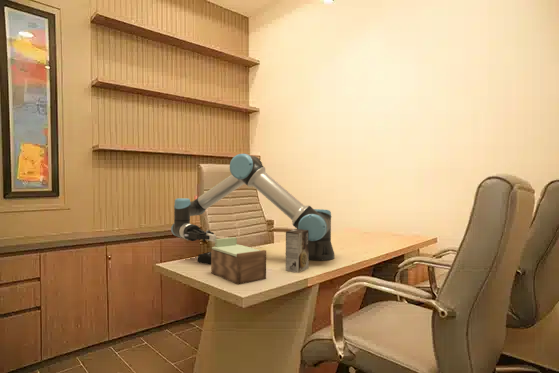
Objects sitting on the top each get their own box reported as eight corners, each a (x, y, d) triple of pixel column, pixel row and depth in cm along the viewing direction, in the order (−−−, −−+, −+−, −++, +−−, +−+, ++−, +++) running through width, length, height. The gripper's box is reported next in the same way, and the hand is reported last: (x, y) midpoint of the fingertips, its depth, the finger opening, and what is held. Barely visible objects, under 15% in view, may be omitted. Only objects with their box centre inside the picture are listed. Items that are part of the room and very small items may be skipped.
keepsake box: (266, 278, 128) (266, 250, 128) (238, 284, 120) (238, 254, 120) (237, 268, 144) (237, 243, 144) (211, 272, 136) (211, 246, 136)
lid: (263, 253, 129) (263, 242, 129) (236, 256, 122) (236, 246, 122) (237, 246, 143) (237, 236, 143) (211, 249, 136) (212, 239, 136)
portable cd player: (222, 257, 168) (222, 248, 168) (250, 261, 159) (250, 252, 159) (197, 263, 154) (197, 254, 154) (226, 268, 145) (226, 259, 145)
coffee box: (295, 266, 148) (295, 228, 148) (308, 268, 145) (309, 229, 145) (284, 270, 141) (285, 230, 140) (298, 272, 137) (299, 232, 137)
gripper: (202, 238, 168) (228, 245, 150) (177, 241, 160) (200, 249, 142) (203, 223, 168) (228, 228, 150) (177, 225, 160) (200, 230, 142)
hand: (214, 238), depth 146 cm, fingers closed
